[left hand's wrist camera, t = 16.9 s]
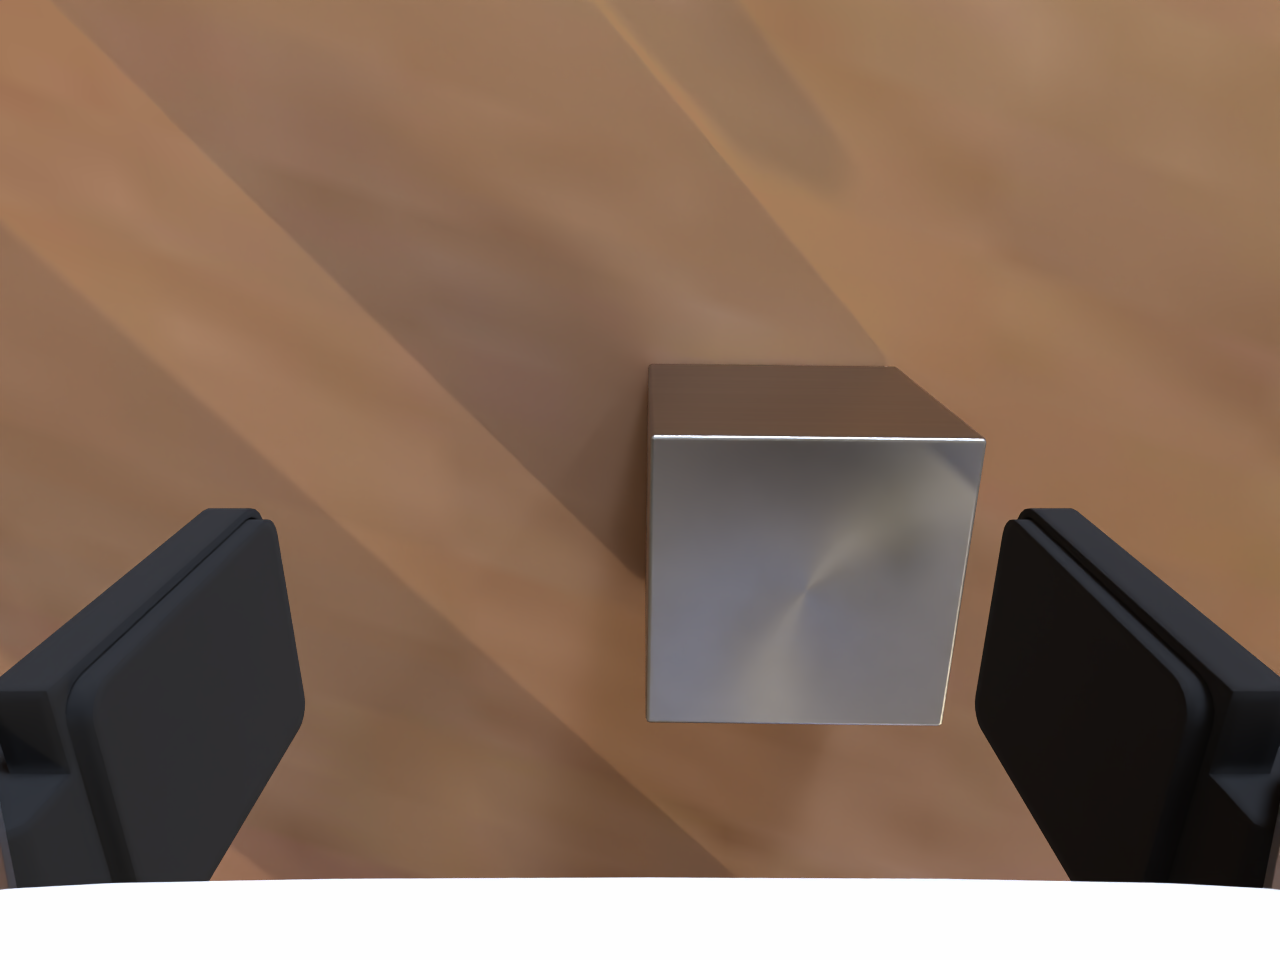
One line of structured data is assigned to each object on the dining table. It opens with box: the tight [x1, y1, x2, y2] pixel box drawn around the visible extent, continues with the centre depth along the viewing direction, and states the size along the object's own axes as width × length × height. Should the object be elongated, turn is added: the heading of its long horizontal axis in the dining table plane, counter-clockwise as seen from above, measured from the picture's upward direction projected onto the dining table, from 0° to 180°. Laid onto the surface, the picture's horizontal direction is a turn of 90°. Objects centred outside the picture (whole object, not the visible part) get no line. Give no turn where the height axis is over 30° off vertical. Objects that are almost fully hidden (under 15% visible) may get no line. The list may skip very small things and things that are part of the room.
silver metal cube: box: [645, 364, 986, 726], centre depth 16 cm, size 5×5×5 cm
